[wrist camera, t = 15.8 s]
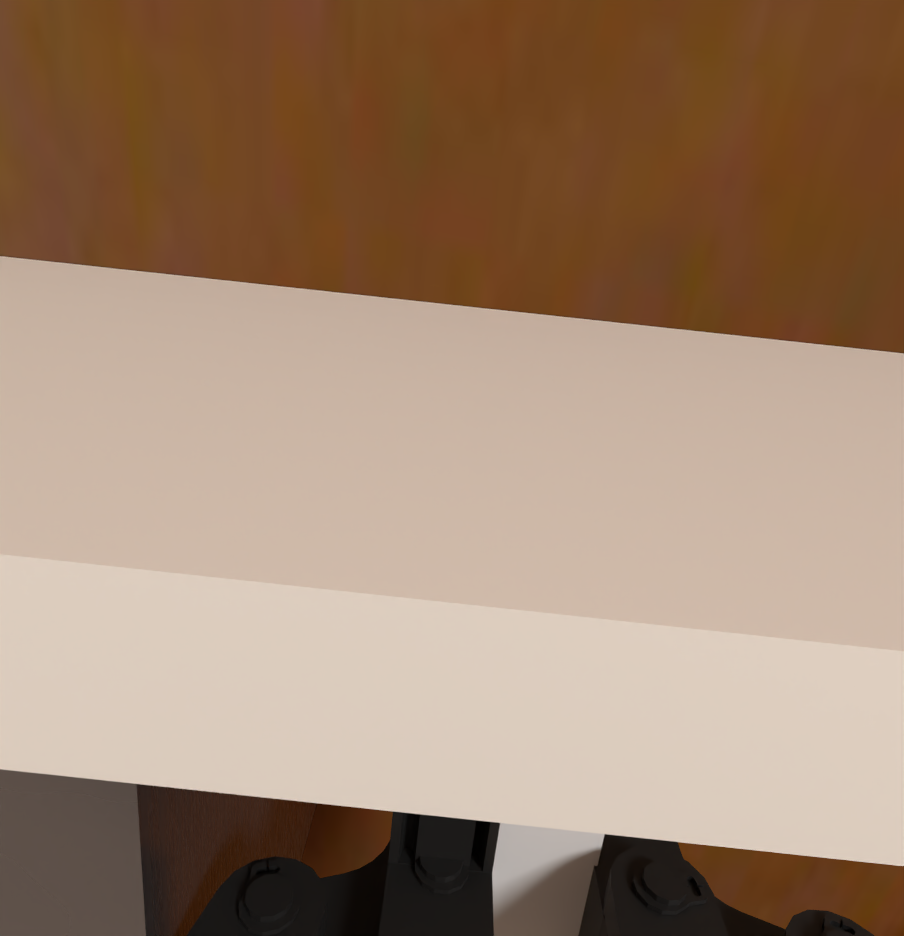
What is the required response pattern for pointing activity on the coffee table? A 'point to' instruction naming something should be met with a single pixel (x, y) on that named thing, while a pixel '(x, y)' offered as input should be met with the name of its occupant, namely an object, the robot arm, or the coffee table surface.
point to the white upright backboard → (451, 561)
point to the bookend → (128, 852)
